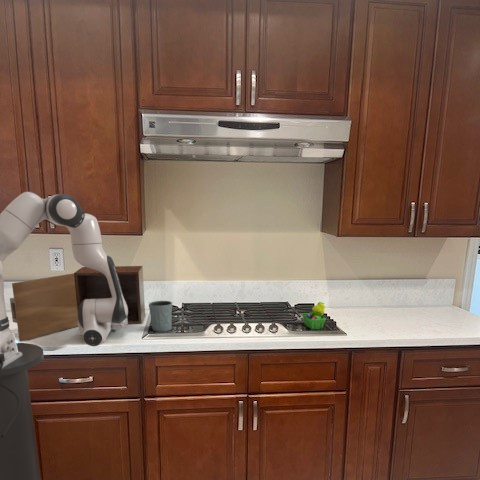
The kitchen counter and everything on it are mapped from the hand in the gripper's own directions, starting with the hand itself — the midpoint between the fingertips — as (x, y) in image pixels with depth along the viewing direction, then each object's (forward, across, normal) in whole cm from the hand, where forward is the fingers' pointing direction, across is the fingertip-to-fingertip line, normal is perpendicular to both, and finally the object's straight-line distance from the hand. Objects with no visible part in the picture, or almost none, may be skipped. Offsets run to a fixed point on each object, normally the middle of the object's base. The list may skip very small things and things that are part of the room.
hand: (105, 318), depth 205 cm
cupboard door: (-1, +26, +5) cm, 26 cm away
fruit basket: (-4, -93, +6) cm, 93 cm away
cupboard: (+18, 0, +6) cm, 19 cm away
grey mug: (-1, -24, +6) cm, 25 cm away
